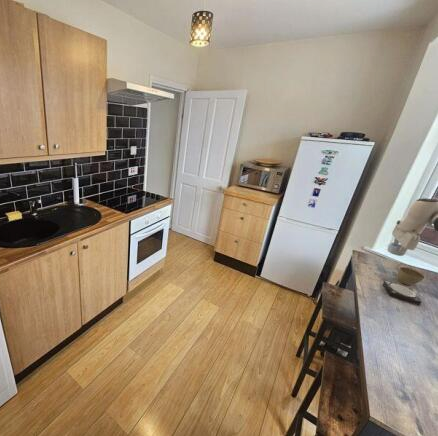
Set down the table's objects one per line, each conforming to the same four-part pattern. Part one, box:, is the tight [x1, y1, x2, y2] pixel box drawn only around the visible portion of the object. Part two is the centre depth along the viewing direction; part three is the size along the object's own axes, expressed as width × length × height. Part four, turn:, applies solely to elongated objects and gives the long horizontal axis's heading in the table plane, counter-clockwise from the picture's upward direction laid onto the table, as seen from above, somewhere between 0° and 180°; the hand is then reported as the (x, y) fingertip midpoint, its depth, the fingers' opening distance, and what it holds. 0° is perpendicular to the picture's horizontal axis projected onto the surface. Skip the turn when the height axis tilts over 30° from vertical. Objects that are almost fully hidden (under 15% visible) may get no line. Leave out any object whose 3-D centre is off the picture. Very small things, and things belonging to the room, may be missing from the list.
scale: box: [382, 280, 423, 306], centre depth 118 cm, size 11×11×3 cm
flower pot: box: [396, 266, 426, 286], centre depth 127 cm, size 10×10×7 cm
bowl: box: [386, 242, 409, 257], centre depth 129 cm, size 7×7×4 cm
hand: (397, 249), depth 129 cm, fingers closed on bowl, 7 cm apart
